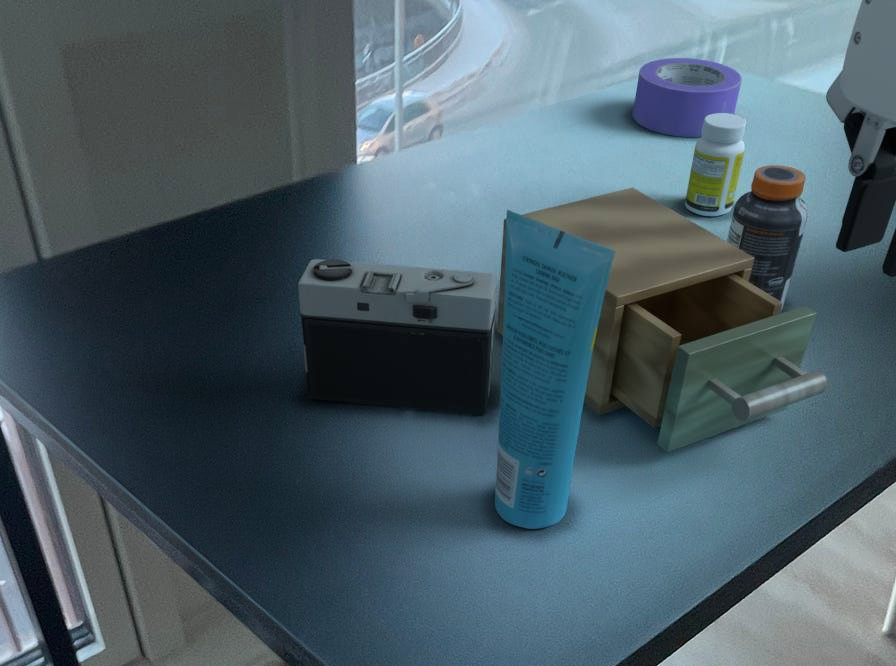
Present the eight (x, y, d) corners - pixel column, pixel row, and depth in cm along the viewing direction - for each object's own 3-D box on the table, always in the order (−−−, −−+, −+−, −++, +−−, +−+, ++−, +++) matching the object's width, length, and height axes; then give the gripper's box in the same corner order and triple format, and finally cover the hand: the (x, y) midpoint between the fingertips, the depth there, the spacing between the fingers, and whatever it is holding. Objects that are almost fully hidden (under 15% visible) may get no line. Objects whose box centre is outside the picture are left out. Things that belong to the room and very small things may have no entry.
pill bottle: (795, 305, 89) (833, 172, 81) (758, 328, 86) (794, 194, 78) (737, 282, 92) (768, 152, 84) (699, 304, 89) (728, 172, 81)
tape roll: (753, 126, 119) (763, 79, 115) (676, 144, 115) (685, 97, 111) (686, 96, 126) (694, 51, 122) (612, 113, 122) (618, 67, 118)
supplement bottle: (716, 195, 105) (735, 109, 99) (740, 213, 102) (760, 125, 96) (675, 201, 104) (691, 114, 98) (698, 220, 101) (716, 131, 95)
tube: (594, 511, 69) (639, 233, 55) (556, 547, 66) (593, 265, 52) (504, 470, 72) (525, 198, 58) (464, 504, 69) (476, 227, 55)
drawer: (829, 438, 73) (863, 340, 67) (707, 484, 69) (733, 385, 64) (672, 330, 84) (690, 238, 78) (559, 365, 80) (570, 271, 74)
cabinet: (726, 373, 81) (755, 257, 74) (598, 415, 77) (617, 297, 70) (615, 296, 90) (632, 186, 83) (496, 331, 85) (503, 218, 79)
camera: (498, 363, 82) (506, 243, 75) (485, 419, 76) (493, 295, 69) (330, 348, 83) (322, 228, 76) (305, 402, 78) (295, 279, 71)
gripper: (1252, -123, 41) (1047, 302, 54) (932, -178, 51) (824, 194, 64) (1135, -105, 38) (949, 337, 51) (822, -166, 48) (734, 218, 61)
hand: (881, 254), depth 57 cm, fingers closed
